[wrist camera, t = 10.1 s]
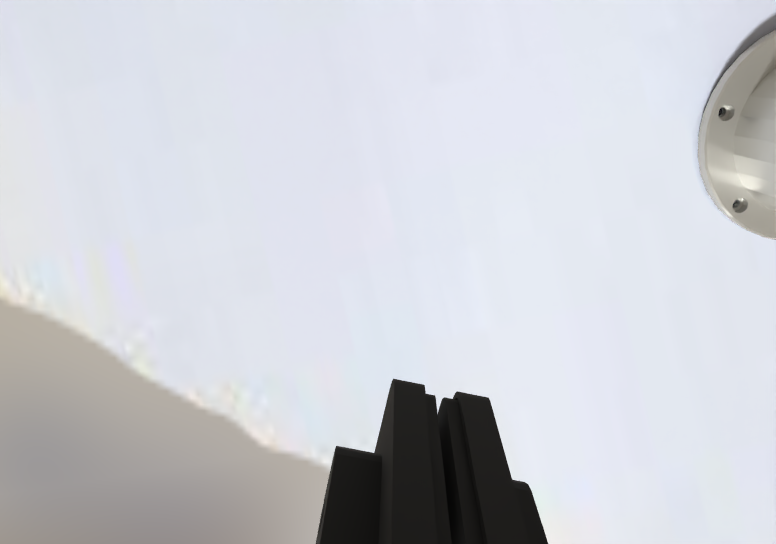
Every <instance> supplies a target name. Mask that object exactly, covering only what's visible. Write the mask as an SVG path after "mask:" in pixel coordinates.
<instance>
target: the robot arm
mask: <svg viewBox="0 0 776 544" xmlns="http://www.w3.org/2000/svg"><path fill="white" fill-rule="evenodd" d="M721 108H722V114H721V115H720V116H718V114H719V110H720V109H721ZM698 162H699V168H700V174H701V177H702V180H703V183H704V185H705V188H706V190H707V193H708V195H709V196H710V197H711V199H712V200H713V202H714V203H715V205H716V206H717V208H718V209H719V210H720V211H721V212H722V213H723V214H724V215H725V216H726V217H728V218H729V219H730V220H731V221H732V222H734V223H735V224H737V225H739V226H741V227H742V228H744V229H746V230H747V231H750V232H752V233H755V234H757V235H760V236H762V237H765V238H770V239H774V240H776V30H774V31H772V32H770V33H769V34H767V35H765V36H764V37H762V38H760V39H759V40H758V41H756V42H755V43H754V44H753V45H752V46H750V47H749V48H748V49H747V50H745V51H744V52H743V53H742V54H741V55H740V56H739V57H738V58H737V59H736V60H735V61H734V63H733V64H732V65H731V66H730V67H729V68H728V69H727V71H726V72H725V73H724V75H723V76H722V78H721V79H720V81H719V83H718V84H717V86H716V87H715V89H714V91H713V92H712V94H711V96H710V99H709V101H708V104H707V106H706V109H705V111H704V113H703V117H702V122H701V126H700V131H699V135H698ZM735 200H736V203H735V205H734V206H733V203H734V202H735ZM316 544H548V542H547V539H546V535H545V532H544V529H543V526H542V523H541V520H540V517H539V513H538V510H537V507H536V504H535V501H534V498H533V495H532V491H531V489H530V487H529V485H528V484H527V483H525V482H521V481H516V480H512V478H511V474H510V471H509V467H508V464H507V460H506V456H505V453H504V449H503V446H502V442H501V438H500V435H499V431H498V428H497V424H496V421H495V417H494V413H493V410H492V406H491V403H490V400H489V398H487V397H482V396H477V395H472V394H467V393H462V392H456V393H455V395H454V397H453V399H450V398H445V397H444V398H443V399H442V402H441V405H440V408H439V412H438V415H437V407H436V398H435V396H434V395H429V394H425V386H424V385H422V384H417V383H412V382H407V381H402V380H397V379H393V381H392V383H391V387H390V391H389V395H388V399H387V403H386V407H385V411H384V415H383V420H382V424H381V428H380V432H379V436H378V440H377V445H376V449H375V453H371V452H365V451H360V450H355V449H350V448H345V447H340V446H336V448H335V452H334V457H333V461H332V466H331V471H330V475H329V480H328V484H327V489H326V494H325V499H324V504H323V509H322V514H321V519H320V524H319V530H318V535H317V540H316Z"/></svg>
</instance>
